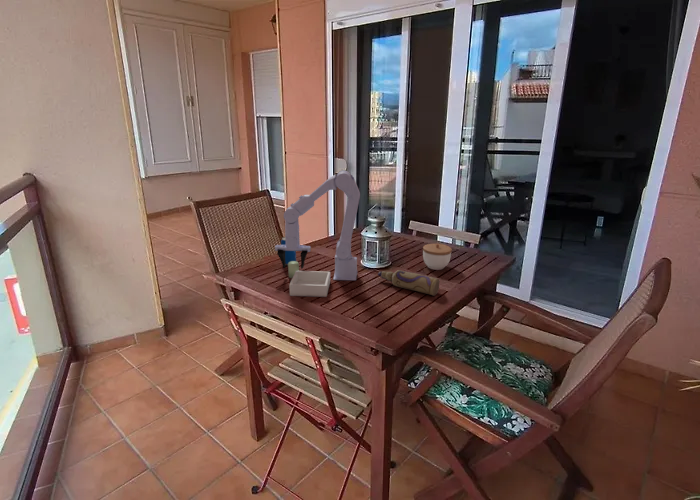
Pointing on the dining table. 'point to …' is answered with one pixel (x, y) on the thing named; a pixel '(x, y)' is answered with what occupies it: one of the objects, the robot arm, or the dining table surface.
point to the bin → (310, 283)
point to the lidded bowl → (436, 255)
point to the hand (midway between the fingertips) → (293, 267)
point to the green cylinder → (293, 268)
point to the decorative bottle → (412, 281)
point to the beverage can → (288, 253)
